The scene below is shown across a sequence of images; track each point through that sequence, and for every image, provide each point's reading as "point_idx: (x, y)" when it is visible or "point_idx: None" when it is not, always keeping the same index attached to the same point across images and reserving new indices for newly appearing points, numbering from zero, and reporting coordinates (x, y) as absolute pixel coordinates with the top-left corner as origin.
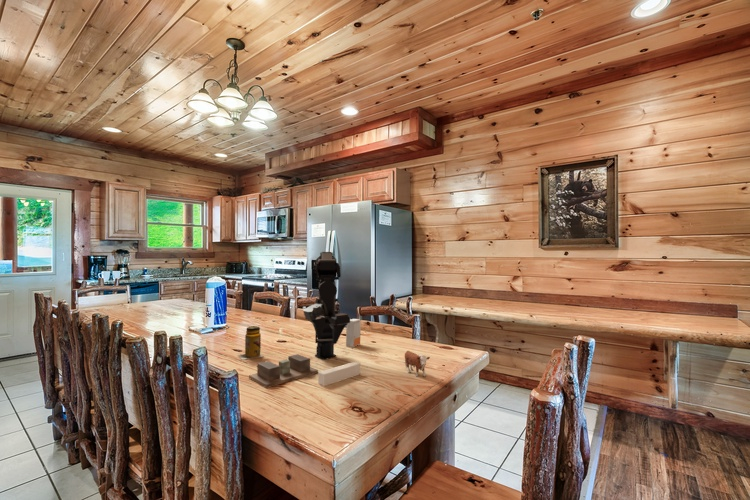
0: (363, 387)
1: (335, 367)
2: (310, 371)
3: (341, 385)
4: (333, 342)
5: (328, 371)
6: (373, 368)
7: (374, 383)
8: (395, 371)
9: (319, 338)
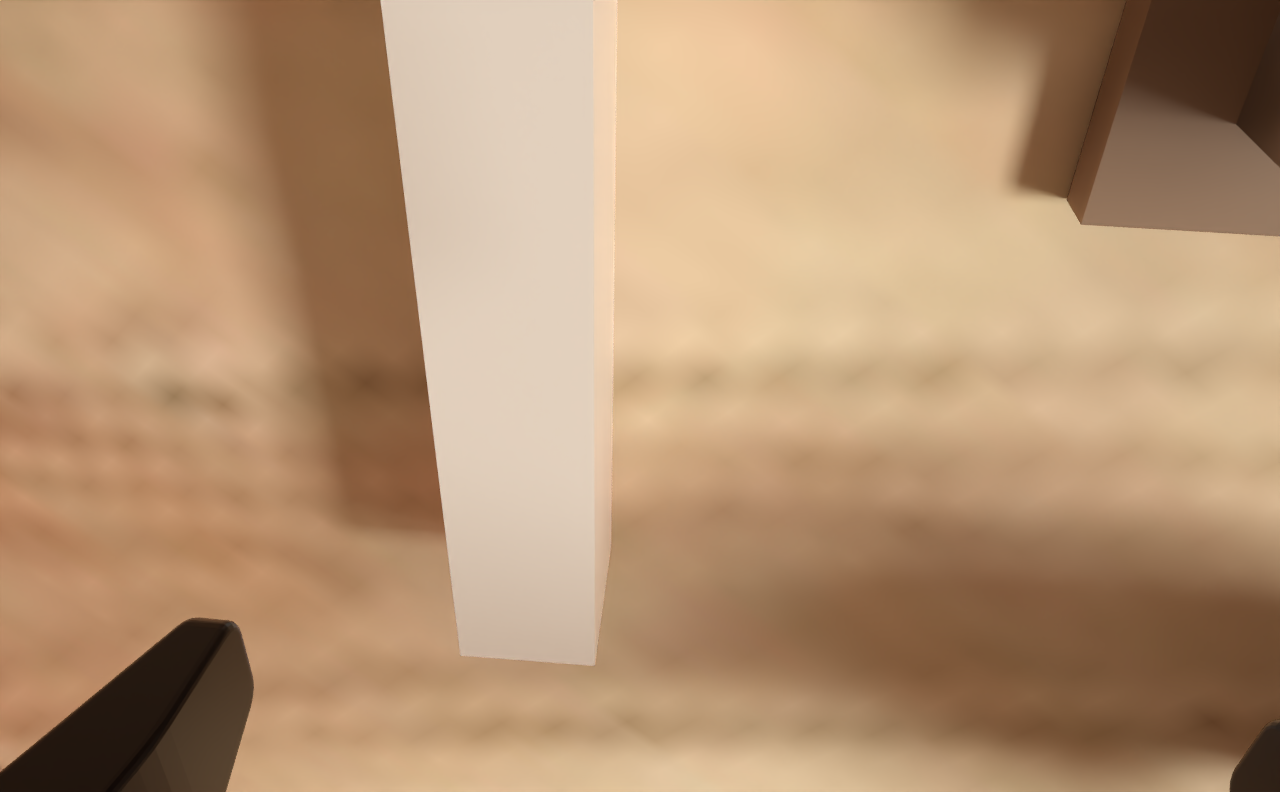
0: (8, 241)
1: (583, 322)
2: (1161, 70)
3: (262, 72)
4: (179, 650)
5: (474, 69)
6: (539, 727)
7: (76, 425)
8: (295, 772)
9: (1254, 764)
